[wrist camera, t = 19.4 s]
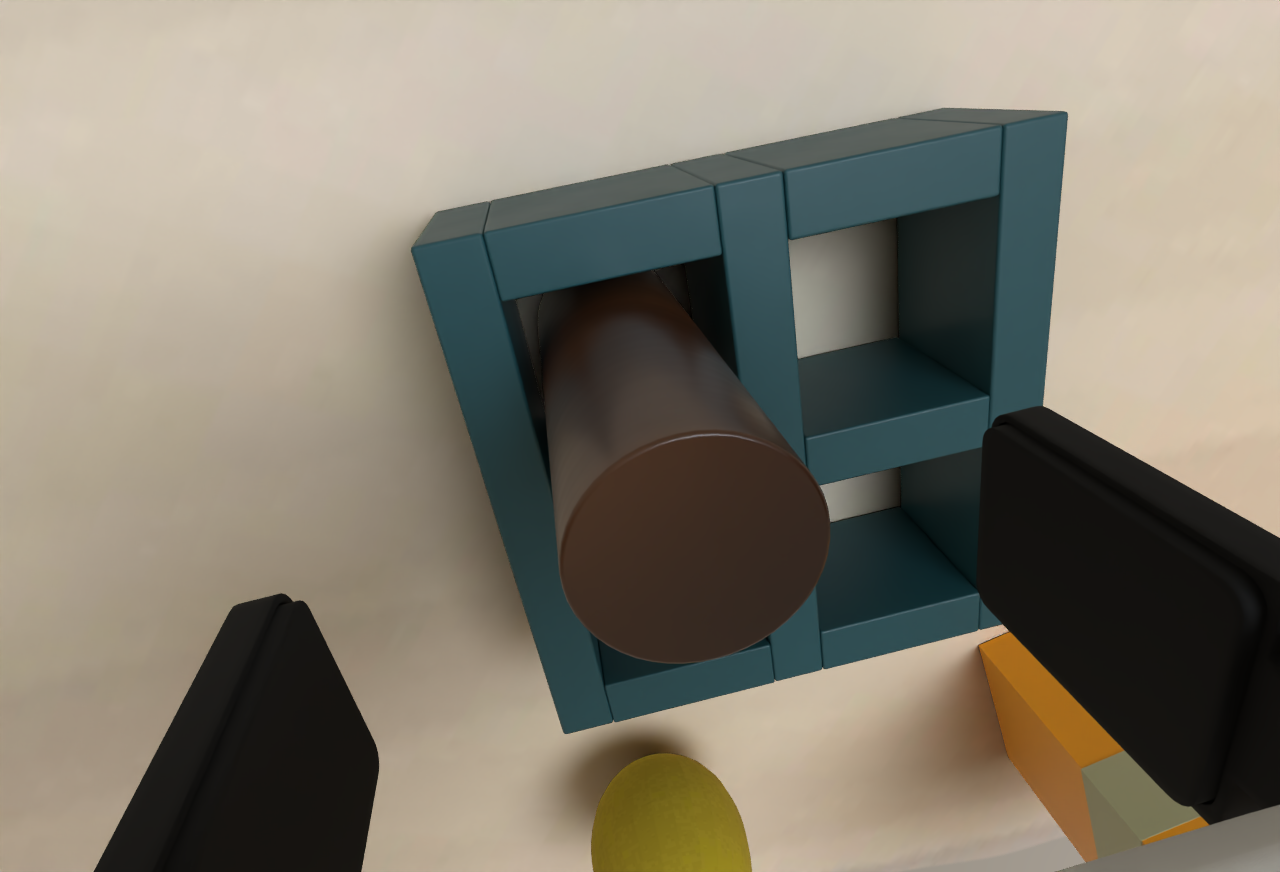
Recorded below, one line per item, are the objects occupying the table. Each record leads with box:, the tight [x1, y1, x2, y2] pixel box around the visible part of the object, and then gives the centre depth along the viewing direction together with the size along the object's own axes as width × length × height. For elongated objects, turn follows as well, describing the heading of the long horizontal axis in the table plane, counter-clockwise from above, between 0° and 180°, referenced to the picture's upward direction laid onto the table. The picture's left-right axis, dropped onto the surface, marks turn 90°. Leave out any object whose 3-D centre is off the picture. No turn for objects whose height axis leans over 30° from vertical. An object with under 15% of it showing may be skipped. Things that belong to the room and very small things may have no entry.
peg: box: [538, 270, 830, 664], centre depth 16 cm, size 4×4×12 cm
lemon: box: [591, 753, 752, 872], centre depth 25 cm, size 6×6×8 cm
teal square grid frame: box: [411, 108, 1068, 734], centre depth 20 cm, size 14×14×5 cm
